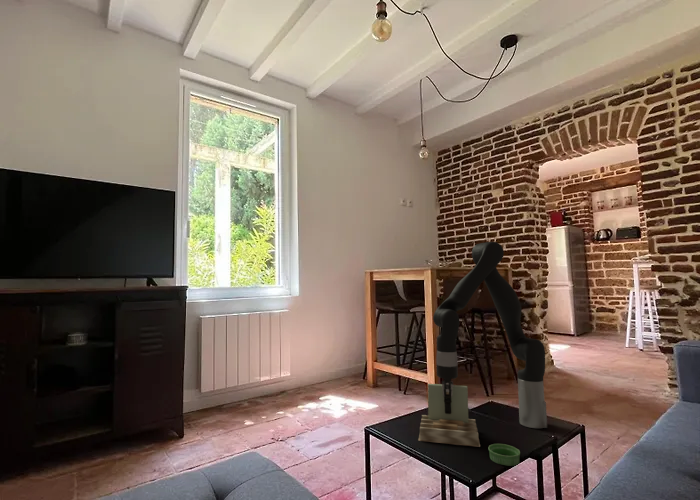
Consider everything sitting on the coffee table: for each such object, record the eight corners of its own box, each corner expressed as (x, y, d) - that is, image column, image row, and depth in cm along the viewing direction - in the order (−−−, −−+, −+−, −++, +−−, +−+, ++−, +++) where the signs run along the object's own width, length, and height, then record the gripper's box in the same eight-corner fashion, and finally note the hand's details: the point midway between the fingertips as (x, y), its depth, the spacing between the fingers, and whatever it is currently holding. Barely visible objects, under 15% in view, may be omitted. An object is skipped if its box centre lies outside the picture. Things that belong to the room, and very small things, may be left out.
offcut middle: (463, 435, 131) (462, 420, 131) (463, 437, 129) (463, 422, 130) (439, 433, 133) (439, 418, 133) (439, 435, 131) (439, 420, 132)
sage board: (468, 431, 135) (467, 386, 136) (468, 433, 133) (467, 387, 134) (428, 428, 138) (428, 383, 140) (428, 430, 136) (427, 384, 138)
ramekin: (525, 473, 108) (524, 456, 108) (492, 471, 109) (492, 455, 109) (515, 459, 117) (514, 444, 117) (485, 457, 118) (485, 442, 118)
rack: (477, 435, 135) (476, 419, 136) (480, 451, 122) (480, 433, 122) (420, 430, 140) (420, 414, 141) (418, 445, 127) (418, 428, 127)
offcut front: (457, 439, 127) (457, 424, 128) (457, 442, 125) (457, 426, 126) (433, 437, 129) (433, 422, 130) (433, 439, 127) (433, 424, 128)
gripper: (458, 368, 130) (459, 419, 128) (456, 360, 143) (458, 407, 142) (436, 366, 132) (437, 417, 130) (436, 359, 145) (437, 405, 144)
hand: (448, 412), depth 136 cm, fingers closed on sage board, 2 cm apart
